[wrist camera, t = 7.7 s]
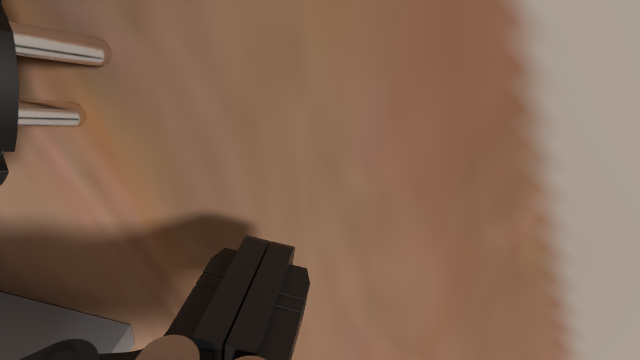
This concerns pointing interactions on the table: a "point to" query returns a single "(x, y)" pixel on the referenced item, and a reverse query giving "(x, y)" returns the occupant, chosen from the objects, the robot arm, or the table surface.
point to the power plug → (31, 41)
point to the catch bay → (54, 328)
